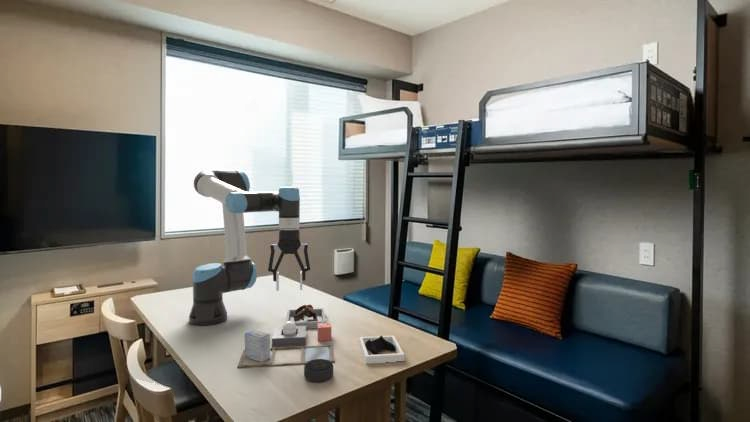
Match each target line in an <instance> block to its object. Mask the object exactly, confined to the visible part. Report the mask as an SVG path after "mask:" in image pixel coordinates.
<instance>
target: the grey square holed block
mask: <svg viewBox="0 0 750 422" xmlns="http://www.w3.org/2000/svg"><path fill="white" fill-rule="evenodd" d="M306 339H307V329H306V326H296V334H295V335H283V326H274V327H273V332H272V336H271V348H278V347H297V346H307V345H306V342H307V341H306Z"/></svg>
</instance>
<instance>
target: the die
mask: <svg viewBox="0 0 750 422" xmlns="http://www.w3.org/2000/svg"><path fill="white" fill-rule="evenodd" d="M331 323H332V322H327V321H326V323H318V328H317V341H321V342H323V341H332V324H331Z"/></svg>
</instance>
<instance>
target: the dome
mask: <svg viewBox="0 0 750 422" xmlns="http://www.w3.org/2000/svg"><path fill="white" fill-rule="evenodd" d="M294 322H295V321H291V320H289V321H288V322H286V321H285V323H283V326H282V327H283V335H295V334H296V324H295V323H294Z"/></svg>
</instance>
